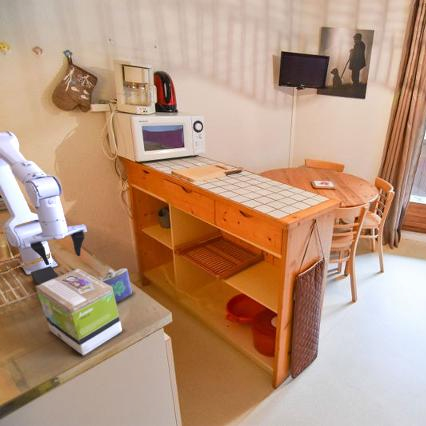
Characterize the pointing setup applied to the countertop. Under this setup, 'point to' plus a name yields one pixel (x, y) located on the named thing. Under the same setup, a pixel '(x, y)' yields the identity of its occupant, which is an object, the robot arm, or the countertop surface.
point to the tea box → (80, 310)
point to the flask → (118, 283)
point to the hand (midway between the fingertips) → (63, 259)
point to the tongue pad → (43, 275)
